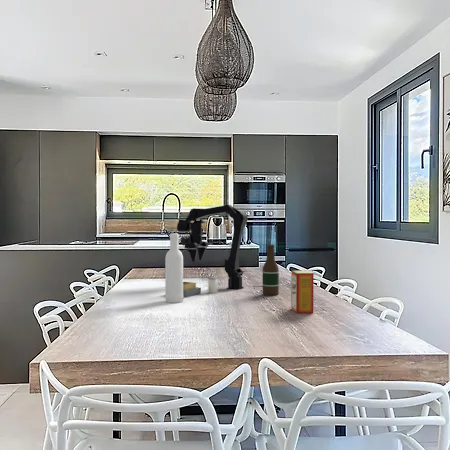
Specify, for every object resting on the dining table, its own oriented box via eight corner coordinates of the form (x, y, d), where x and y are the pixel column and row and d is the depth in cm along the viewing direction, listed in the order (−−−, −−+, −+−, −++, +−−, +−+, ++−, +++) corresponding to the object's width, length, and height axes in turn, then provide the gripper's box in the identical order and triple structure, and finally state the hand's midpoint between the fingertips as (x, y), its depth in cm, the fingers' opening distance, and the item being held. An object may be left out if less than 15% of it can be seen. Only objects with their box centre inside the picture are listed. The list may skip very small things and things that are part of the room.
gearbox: (200, 293, 235) (200, 282, 235) (185, 297, 225) (185, 285, 224) (177, 291, 242) (177, 280, 242) (161, 294, 232) (161, 283, 232)
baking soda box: (291, 308, 198) (291, 269, 197) (307, 308, 198) (307, 269, 198) (296, 313, 188) (297, 272, 188) (313, 313, 189) (313, 272, 189)
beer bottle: (277, 296, 229) (278, 245, 228) (261, 295, 230) (261, 245, 230) (279, 293, 236) (279, 244, 236) (263, 292, 238) (263, 244, 237)
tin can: (219, 292, 239) (219, 277, 239) (214, 293, 235) (214, 278, 235) (211, 291, 241) (211, 277, 241) (206, 293, 237) (206, 278, 237)
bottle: (185, 300, 217) (185, 233, 216) (179, 303, 209) (179, 233, 209) (169, 299, 219) (169, 233, 218) (162, 302, 211) (162, 233, 211)
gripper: (189, 231, 271) (190, 259, 271) (175, 232, 254) (175, 262, 254) (208, 231, 267) (208, 259, 267) (194, 232, 250) (195, 262, 250)
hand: (197, 261), depth 260 cm, fingers open, 9 cm apart
